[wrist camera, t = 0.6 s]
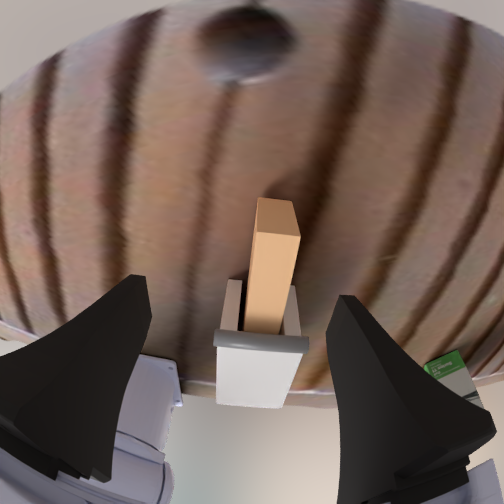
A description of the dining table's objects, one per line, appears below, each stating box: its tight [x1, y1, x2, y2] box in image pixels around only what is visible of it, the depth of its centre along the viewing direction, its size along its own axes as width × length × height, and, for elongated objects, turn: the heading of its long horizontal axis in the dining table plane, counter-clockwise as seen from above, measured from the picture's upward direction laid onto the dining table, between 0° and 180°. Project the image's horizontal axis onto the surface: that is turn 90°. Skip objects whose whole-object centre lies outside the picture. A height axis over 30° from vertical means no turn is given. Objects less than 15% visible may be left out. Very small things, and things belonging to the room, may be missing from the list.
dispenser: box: [213, 279, 309, 408], centre depth 19 cm, size 8×5×6 cm
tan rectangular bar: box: [242, 197, 301, 335], centre depth 18 cm, size 13×2×4 cm, turn 174°
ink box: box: [424, 350, 484, 409], centre depth 22 cm, size 9×5×12 cm, turn 21°
